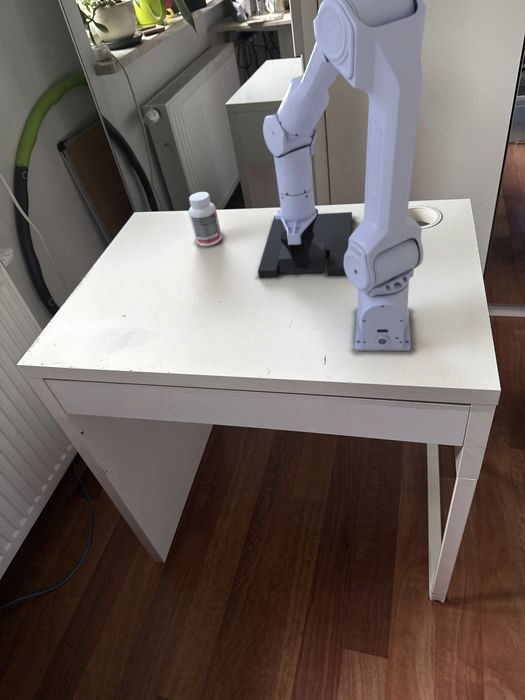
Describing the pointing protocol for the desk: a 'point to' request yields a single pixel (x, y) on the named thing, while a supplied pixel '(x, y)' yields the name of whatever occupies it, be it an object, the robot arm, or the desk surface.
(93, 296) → the desk surface
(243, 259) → the desk surface
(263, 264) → the big pad
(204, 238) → the pill bottle
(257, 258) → the desk surface
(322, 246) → the small pad
